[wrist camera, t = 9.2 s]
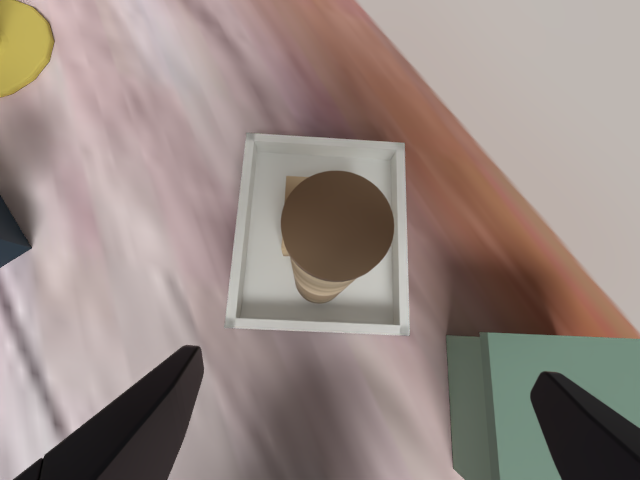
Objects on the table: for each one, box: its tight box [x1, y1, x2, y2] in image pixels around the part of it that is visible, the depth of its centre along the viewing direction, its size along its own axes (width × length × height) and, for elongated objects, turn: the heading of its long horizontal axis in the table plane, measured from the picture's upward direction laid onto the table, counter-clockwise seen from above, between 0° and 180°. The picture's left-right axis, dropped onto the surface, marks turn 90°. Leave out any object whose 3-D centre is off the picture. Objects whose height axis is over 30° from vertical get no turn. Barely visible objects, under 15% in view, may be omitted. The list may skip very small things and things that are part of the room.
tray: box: [224, 133, 410, 336], centre depth 22 cm, size 13×11×2 cm
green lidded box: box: [446, 332, 640, 480], centre depth 18 cm, size 9×9×7 cm
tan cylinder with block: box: [281, 171, 394, 304], centre depth 16 cm, size 8×5×13 cm, turn 178°
